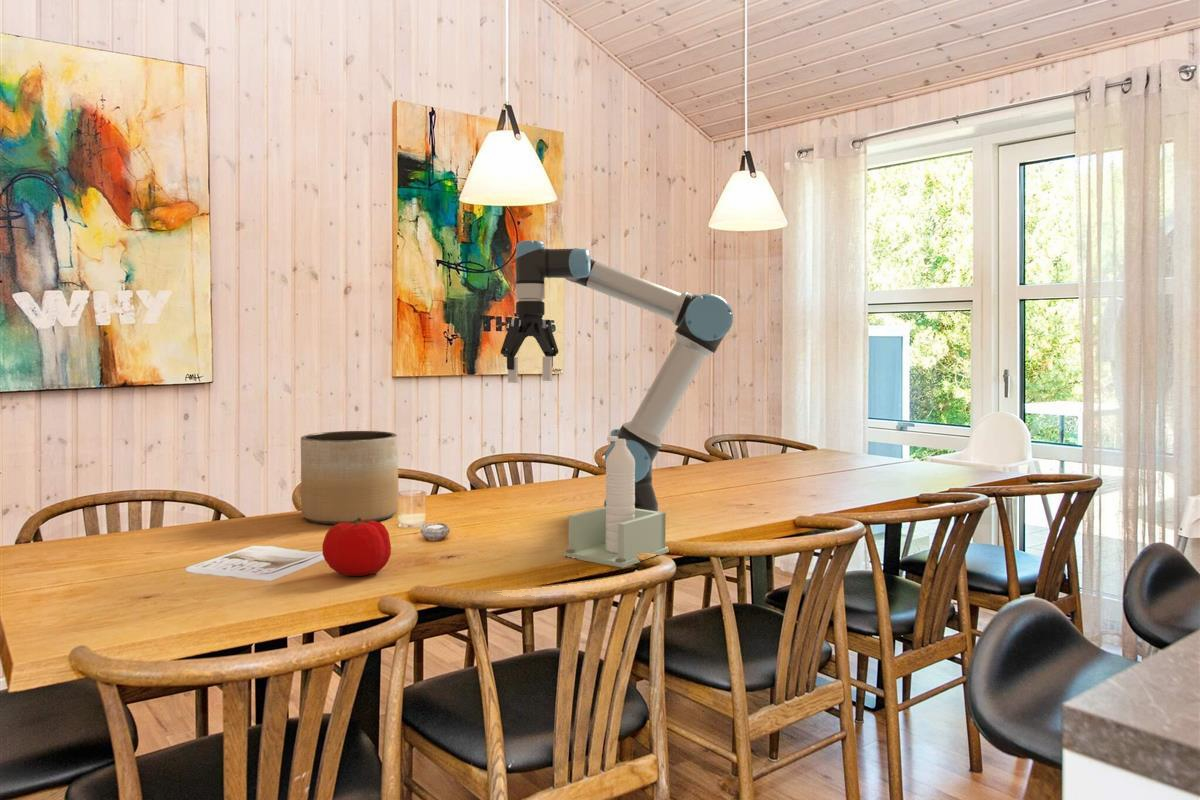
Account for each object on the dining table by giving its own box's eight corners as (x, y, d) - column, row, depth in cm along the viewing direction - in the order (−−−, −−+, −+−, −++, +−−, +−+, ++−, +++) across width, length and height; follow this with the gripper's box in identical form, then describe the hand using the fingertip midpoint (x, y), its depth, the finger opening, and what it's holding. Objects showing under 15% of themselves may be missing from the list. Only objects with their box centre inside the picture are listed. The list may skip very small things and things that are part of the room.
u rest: (612, 541, 208) (612, 504, 207) (669, 551, 198) (669, 512, 198) (564, 556, 194) (564, 516, 193) (623, 567, 184) (623, 525, 183)
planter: (413, 519, 234) (412, 436, 233) (317, 530, 220) (315, 443, 218) (379, 504, 255) (378, 428, 254) (290, 514, 241) (288, 434, 239)
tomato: (392, 579, 175) (392, 522, 174) (322, 585, 171) (321, 526, 170) (389, 564, 187) (388, 511, 186) (323, 569, 183) (322, 514, 182)
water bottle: (639, 552, 193) (640, 439, 192) (612, 555, 191) (613, 440, 189) (622, 543, 201) (623, 435, 200) (596, 546, 199) (597, 436, 197)
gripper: (550, 302, 242) (550, 379, 244) (486, 299, 223) (486, 382, 224) (571, 302, 238) (571, 380, 239) (508, 298, 218) (508, 383, 220)
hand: (530, 381), depth 232 cm, fingers open, 13 cm apart
